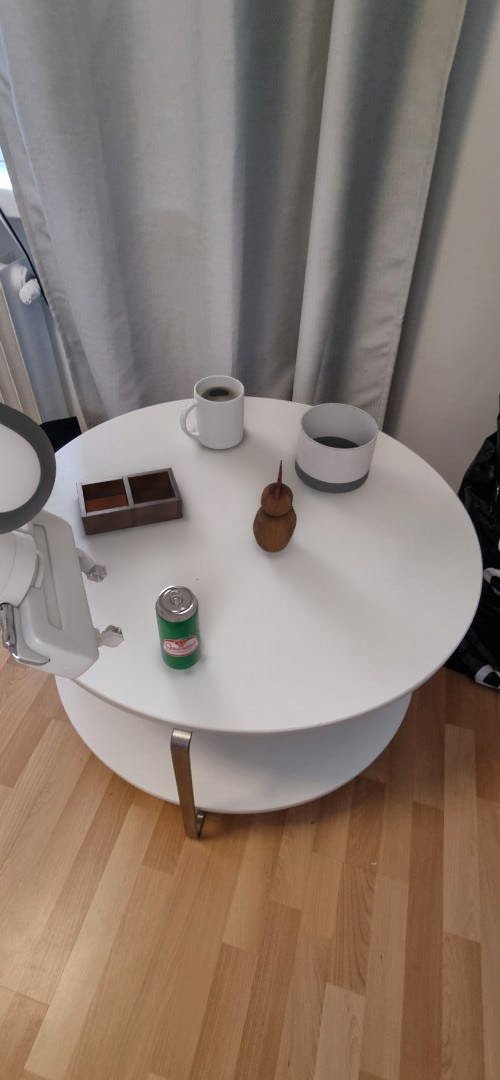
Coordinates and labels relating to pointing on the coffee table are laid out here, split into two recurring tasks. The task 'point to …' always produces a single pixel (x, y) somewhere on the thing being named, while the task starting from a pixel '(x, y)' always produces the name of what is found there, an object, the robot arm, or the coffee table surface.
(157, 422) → the coffee table surface
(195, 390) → the mug
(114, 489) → the holder
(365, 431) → the planter
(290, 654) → the coffee table surface
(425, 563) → the coffee table surface
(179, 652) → the soda can
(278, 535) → the wooden figurine
